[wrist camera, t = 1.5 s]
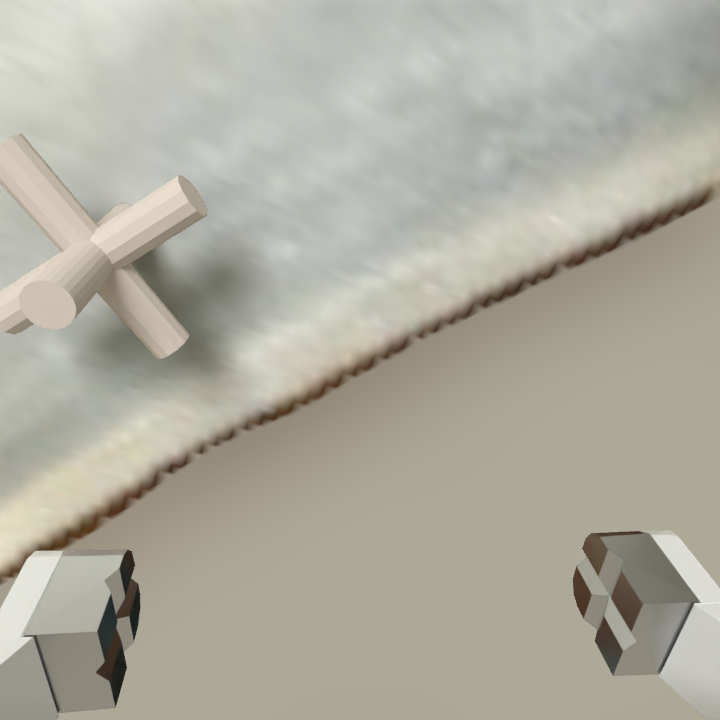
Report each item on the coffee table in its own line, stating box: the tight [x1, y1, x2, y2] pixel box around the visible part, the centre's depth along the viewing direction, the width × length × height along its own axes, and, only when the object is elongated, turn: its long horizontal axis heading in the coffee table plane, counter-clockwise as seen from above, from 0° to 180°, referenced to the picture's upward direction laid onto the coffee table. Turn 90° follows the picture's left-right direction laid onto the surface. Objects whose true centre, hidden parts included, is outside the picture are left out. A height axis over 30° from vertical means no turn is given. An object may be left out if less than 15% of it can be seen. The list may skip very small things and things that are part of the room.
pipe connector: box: [0, 134, 207, 359], centre depth 24 cm, size 10×10×10 cm
